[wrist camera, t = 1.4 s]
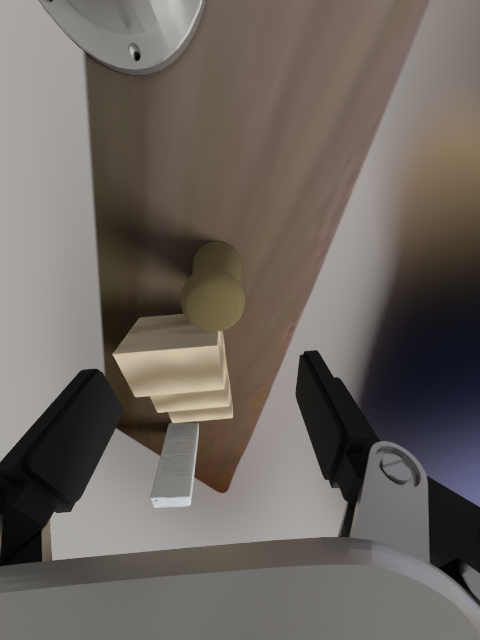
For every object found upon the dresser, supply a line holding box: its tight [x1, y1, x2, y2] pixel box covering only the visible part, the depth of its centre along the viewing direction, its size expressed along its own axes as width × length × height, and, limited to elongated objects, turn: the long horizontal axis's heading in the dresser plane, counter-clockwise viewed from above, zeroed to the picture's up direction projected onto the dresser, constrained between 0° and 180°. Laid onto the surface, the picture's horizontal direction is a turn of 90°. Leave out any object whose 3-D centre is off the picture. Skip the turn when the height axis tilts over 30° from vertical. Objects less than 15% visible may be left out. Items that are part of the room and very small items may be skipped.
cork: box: [180, 241, 245, 332], centre depth 19 cm, size 6×6×11 cm
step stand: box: [113, 314, 233, 423], centre depth 30 cm, size 21×11×8 cm, turn 4°
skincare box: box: [151, 423, 199, 508], centre depth 36 cm, size 6×4×12 cm
